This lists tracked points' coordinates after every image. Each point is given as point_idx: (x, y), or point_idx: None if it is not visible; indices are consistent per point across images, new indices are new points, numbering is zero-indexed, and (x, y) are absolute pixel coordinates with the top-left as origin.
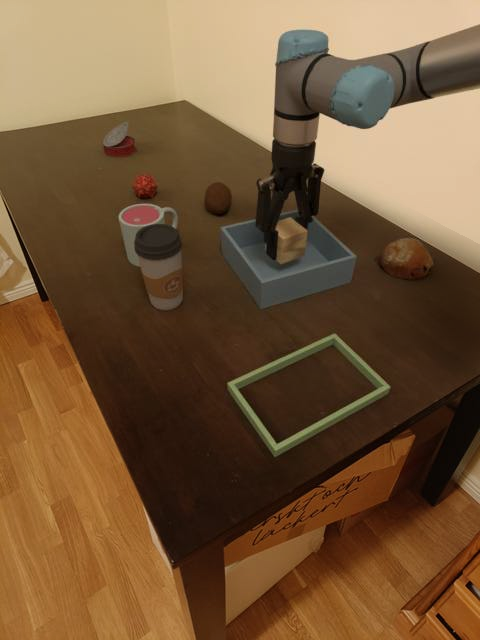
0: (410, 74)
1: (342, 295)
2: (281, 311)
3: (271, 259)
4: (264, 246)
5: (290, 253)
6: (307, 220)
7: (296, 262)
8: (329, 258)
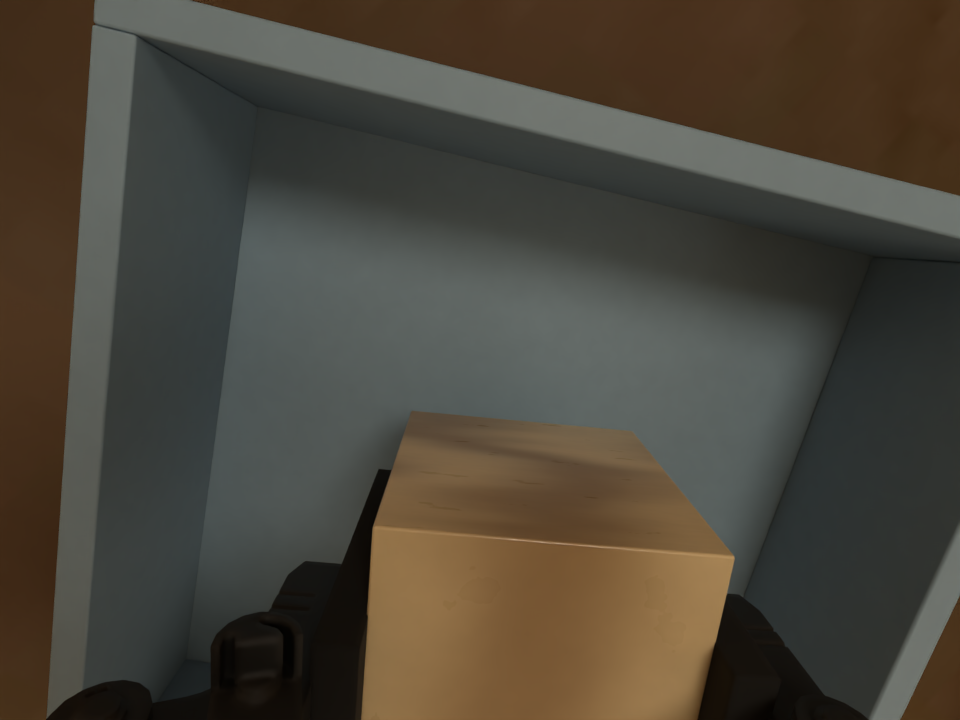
0: None
1: (388, 9)
2: (814, 143)
3: None
4: None
5: (563, 450)
6: (280, 664)
7: None
8: (217, 333)
